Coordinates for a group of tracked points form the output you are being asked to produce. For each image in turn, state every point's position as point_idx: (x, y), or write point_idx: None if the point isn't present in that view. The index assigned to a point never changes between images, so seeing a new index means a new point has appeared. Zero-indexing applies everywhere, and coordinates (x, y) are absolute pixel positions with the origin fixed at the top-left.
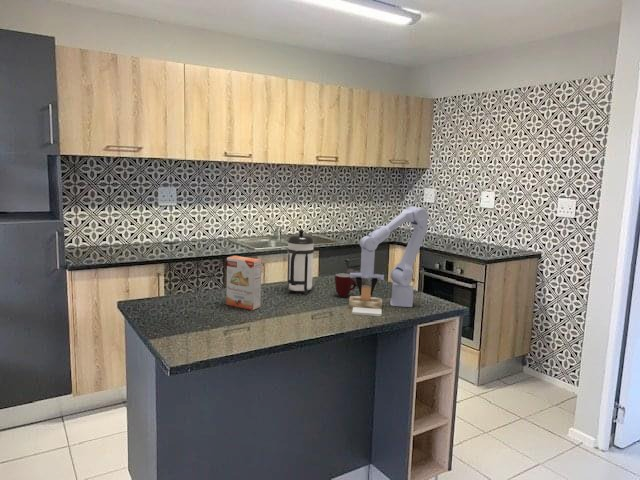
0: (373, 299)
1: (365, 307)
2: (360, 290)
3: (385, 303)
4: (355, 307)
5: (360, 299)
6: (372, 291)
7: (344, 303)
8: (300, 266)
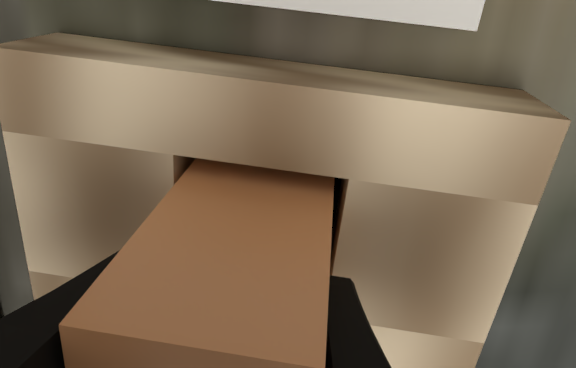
0: None
1: (272, 64)
2: (347, 330)
3: None
4: (439, 18)
5: None
6: (71, 283)
7: (526, 287)
8: None
